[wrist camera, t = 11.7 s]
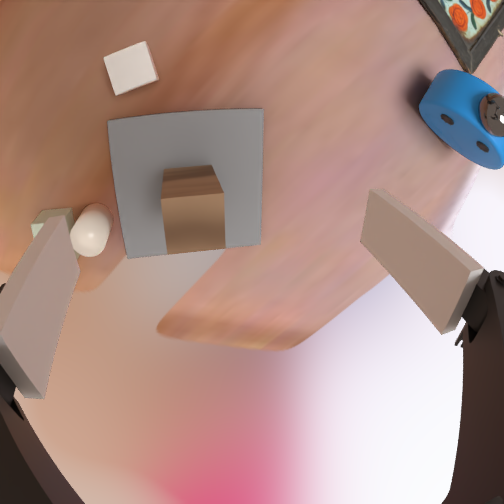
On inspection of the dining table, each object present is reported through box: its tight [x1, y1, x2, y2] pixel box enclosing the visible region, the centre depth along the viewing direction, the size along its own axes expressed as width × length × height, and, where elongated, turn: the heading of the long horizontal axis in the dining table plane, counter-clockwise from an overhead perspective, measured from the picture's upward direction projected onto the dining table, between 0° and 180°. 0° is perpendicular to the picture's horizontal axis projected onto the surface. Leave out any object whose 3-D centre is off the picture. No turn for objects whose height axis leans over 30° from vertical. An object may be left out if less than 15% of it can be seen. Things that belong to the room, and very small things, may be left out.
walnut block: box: [161, 165, 226, 254], centre depth 29 cm, size 5×5×9 cm
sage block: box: [31, 208, 80, 260], centre depth 31 cm, size 6×4×4 cm, turn 176°
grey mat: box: [107, 108, 264, 259], centre depth 33 cm, size 16×16×1 cm
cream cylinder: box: [70, 203, 113, 257], centre depth 31 cm, size 4×4×5 cm
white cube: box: [103, 41, 159, 95], centre depth 25 cm, size 4×4×4 cm
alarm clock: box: [419, 69, 504, 169], centre depth 29 cm, size 13×6×15 cm, turn 58°
